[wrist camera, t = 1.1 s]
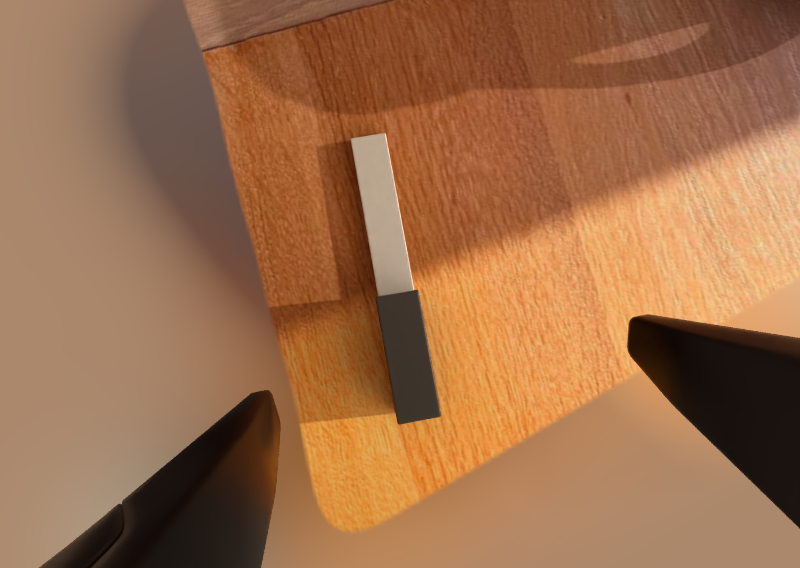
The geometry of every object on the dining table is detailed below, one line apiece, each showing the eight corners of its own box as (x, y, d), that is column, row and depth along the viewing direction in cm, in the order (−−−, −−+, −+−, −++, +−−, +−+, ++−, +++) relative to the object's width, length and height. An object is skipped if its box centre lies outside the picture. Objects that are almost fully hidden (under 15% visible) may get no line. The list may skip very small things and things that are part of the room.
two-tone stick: (436, 405, 23) (441, 416, 20) (397, 413, 23) (397, 425, 20) (387, 136, 24) (386, 117, 21) (349, 142, 24) (344, 124, 21)
